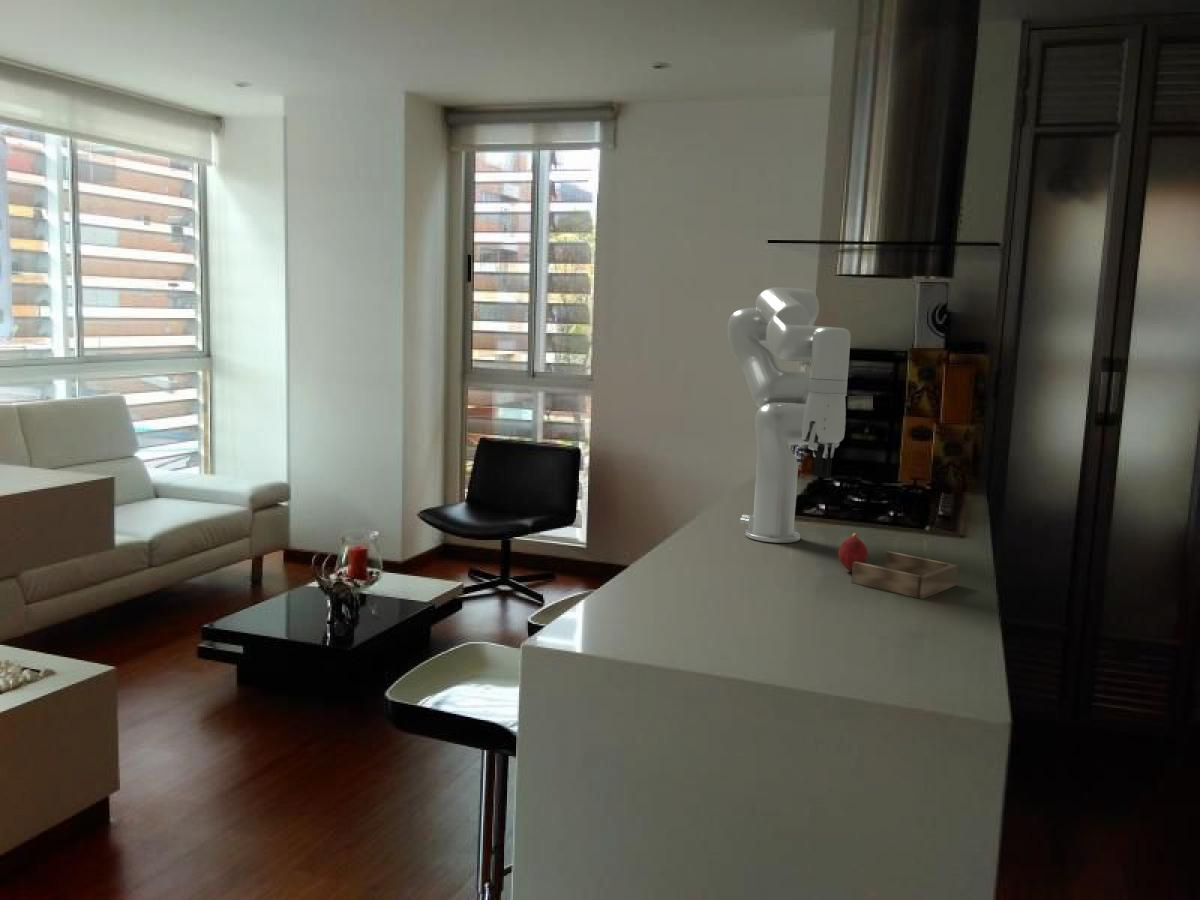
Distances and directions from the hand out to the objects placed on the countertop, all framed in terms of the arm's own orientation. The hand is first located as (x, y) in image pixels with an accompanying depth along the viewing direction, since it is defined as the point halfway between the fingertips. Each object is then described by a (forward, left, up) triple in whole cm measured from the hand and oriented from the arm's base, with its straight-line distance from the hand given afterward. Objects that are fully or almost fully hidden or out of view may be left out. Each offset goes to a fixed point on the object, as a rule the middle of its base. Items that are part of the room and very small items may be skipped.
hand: (821, 476), depth 199 cm
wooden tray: (+19, 0, -19) cm, 27 cm away
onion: (+8, 0, -19) cm, 21 cm away
